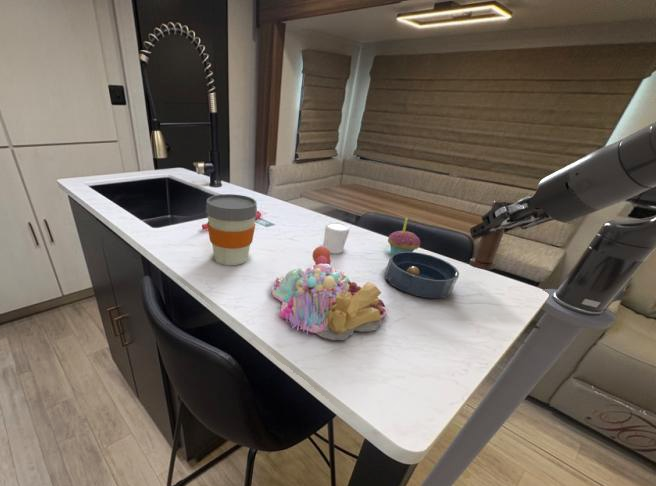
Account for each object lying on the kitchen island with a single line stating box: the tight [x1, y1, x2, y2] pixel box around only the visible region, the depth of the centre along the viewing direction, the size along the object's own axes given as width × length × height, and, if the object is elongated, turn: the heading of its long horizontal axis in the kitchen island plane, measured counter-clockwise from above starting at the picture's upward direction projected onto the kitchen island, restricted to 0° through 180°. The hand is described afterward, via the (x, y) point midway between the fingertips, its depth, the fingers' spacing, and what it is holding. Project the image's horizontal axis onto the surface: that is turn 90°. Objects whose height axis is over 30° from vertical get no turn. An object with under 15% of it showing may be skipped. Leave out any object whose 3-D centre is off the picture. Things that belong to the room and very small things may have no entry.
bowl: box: [384, 251, 460, 299], centre depth 75 cm, size 15×15×5 cm
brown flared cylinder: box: [468, 199, 516, 271], centre depth 57 cm, size 4×4×12 cm
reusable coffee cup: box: [205, 193, 258, 266], centre depth 78 cm, size 13×13×15 cm
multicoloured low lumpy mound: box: [271, 245, 388, 341], centre depth 64 cm, size 25×24×9 cm
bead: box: [406, 266, 420, 276], centre depth 76 cm, size 3×3×3 cm
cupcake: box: [387, 215, 421, 256], centre depth 86 cm, size 9×8×12 cm
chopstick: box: [201, 210, 262, 231], centre depth 103 cm, size 24×2×5 cm
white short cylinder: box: [323, 222, 350, 254], centre depth 89 cm, size 7×7×7 cm
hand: (480, 233), depth 59 cm, fingers closed on brown flared cylinder, 3 cm apart
